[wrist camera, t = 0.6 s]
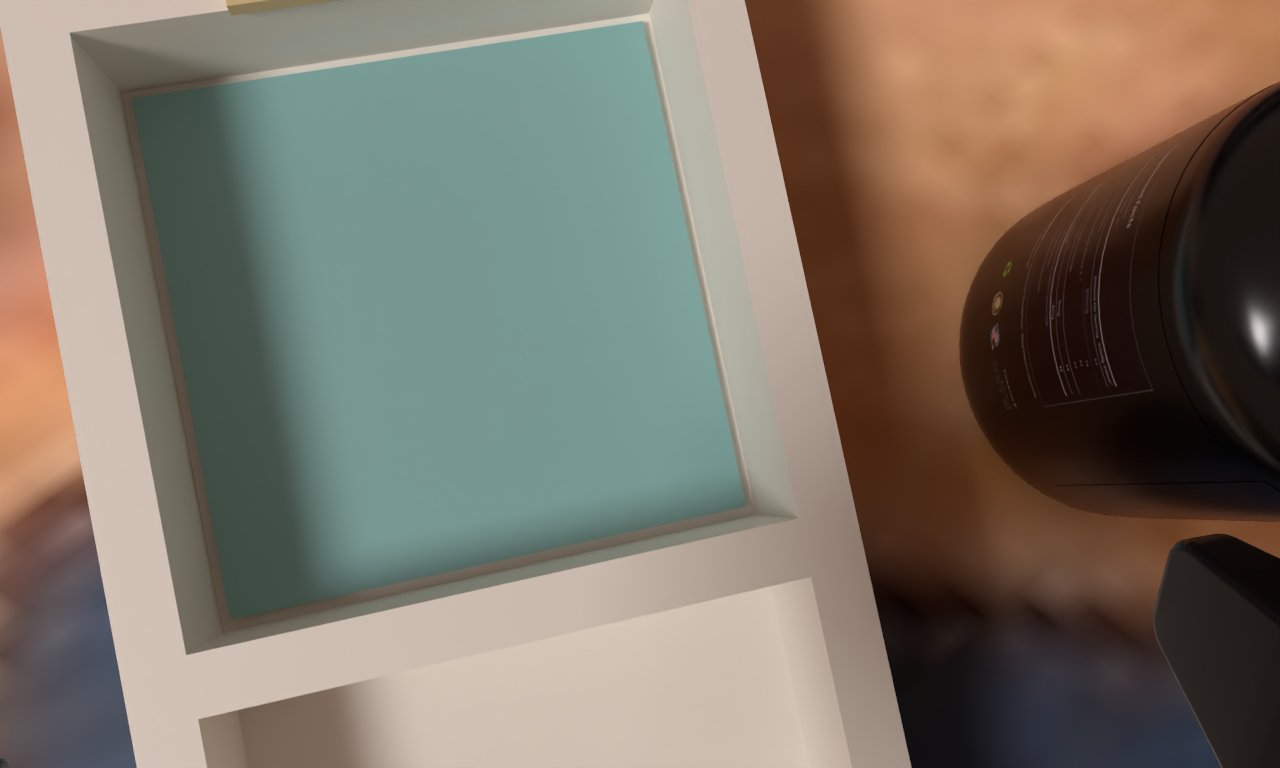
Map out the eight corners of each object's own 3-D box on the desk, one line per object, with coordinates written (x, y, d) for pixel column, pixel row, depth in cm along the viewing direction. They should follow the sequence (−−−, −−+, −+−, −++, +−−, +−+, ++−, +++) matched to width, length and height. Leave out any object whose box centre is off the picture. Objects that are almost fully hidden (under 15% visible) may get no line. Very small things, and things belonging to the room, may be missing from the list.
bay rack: (923, 1107, 24) (1022, 1239, 20) (300, 1301, 22) (262, 1493, 18) (679, -31, 25) (723, -134, 21) (67, 58, 23) (-19, -37, 19)
